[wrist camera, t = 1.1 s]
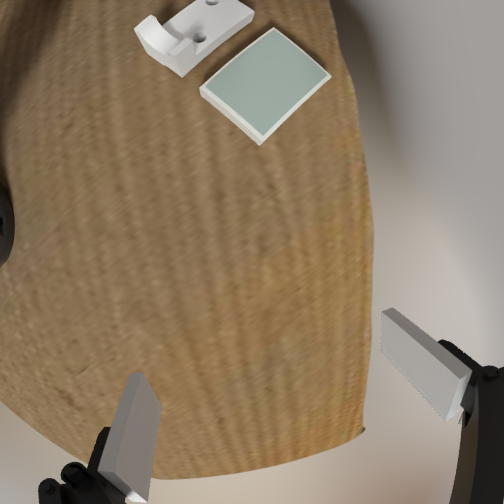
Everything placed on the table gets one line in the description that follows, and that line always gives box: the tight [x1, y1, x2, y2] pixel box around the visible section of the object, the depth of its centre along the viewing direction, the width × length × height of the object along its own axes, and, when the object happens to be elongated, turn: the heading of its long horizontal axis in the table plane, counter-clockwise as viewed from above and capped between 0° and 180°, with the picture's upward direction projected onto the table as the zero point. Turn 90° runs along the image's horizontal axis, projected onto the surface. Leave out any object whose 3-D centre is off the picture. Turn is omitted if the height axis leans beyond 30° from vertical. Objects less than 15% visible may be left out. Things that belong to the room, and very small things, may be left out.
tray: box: [200, 27, 332, 146], centre depth 30 cm, size 10×13×3 cm
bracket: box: [134, 0, 255, 78], centre depth 25 cm, size 13×7×8 cm, turn 137°
